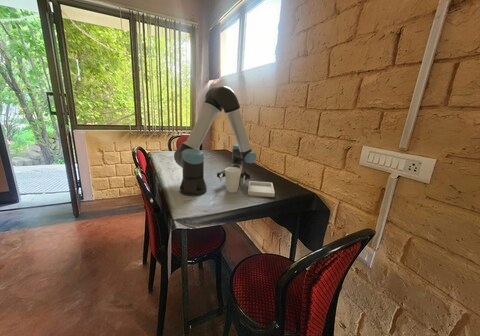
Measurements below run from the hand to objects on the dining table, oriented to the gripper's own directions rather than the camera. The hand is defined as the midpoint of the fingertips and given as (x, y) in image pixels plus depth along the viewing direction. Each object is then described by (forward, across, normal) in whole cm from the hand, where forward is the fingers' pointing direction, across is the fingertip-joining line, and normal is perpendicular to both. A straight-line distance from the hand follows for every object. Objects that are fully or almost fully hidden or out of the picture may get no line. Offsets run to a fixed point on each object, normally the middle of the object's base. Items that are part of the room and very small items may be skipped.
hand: (232, 180), depth 115 cm
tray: (-6, -17, -8) cm, 20 cm away
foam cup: (-3, 0, -8) cm, 8 cm away
